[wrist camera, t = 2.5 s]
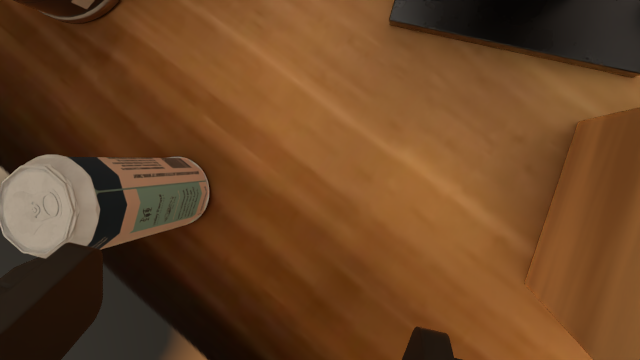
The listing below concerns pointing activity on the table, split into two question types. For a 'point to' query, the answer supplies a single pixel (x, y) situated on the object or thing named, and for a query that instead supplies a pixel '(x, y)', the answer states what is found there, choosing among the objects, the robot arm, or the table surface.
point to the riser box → (595, 239)
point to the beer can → (98, 200)
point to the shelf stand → (536, 28)
